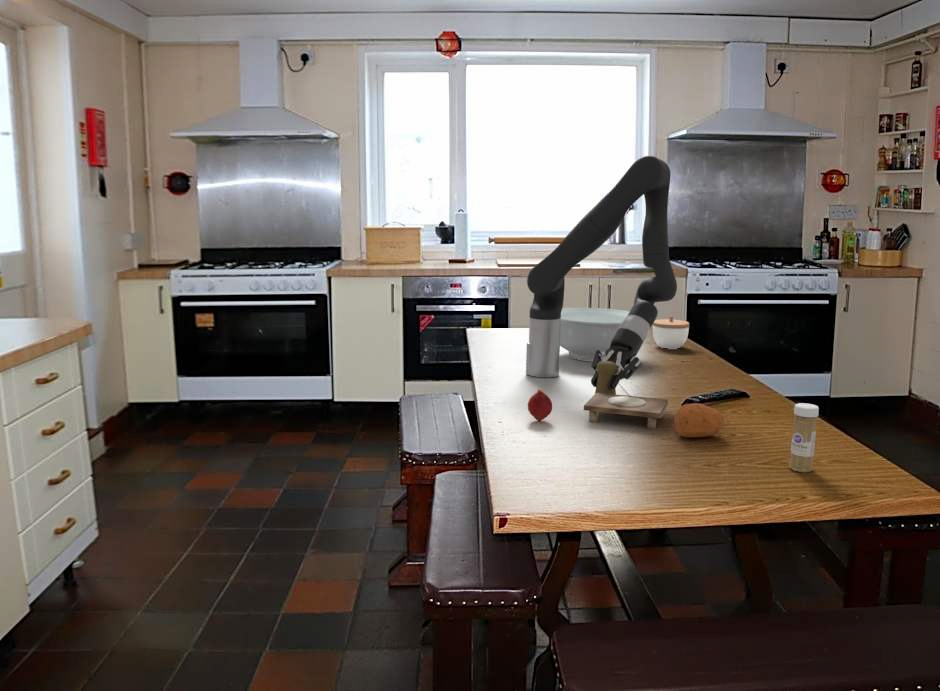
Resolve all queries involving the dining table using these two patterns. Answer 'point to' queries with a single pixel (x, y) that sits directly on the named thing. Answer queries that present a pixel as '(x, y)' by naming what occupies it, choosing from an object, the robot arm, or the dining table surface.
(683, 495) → the dining table surface
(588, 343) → the bowl
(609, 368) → the olive pepper mill
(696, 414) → the potato
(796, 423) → the sprinkles bottle
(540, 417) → the onion
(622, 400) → the wooden stand
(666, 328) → the lidded bowl
